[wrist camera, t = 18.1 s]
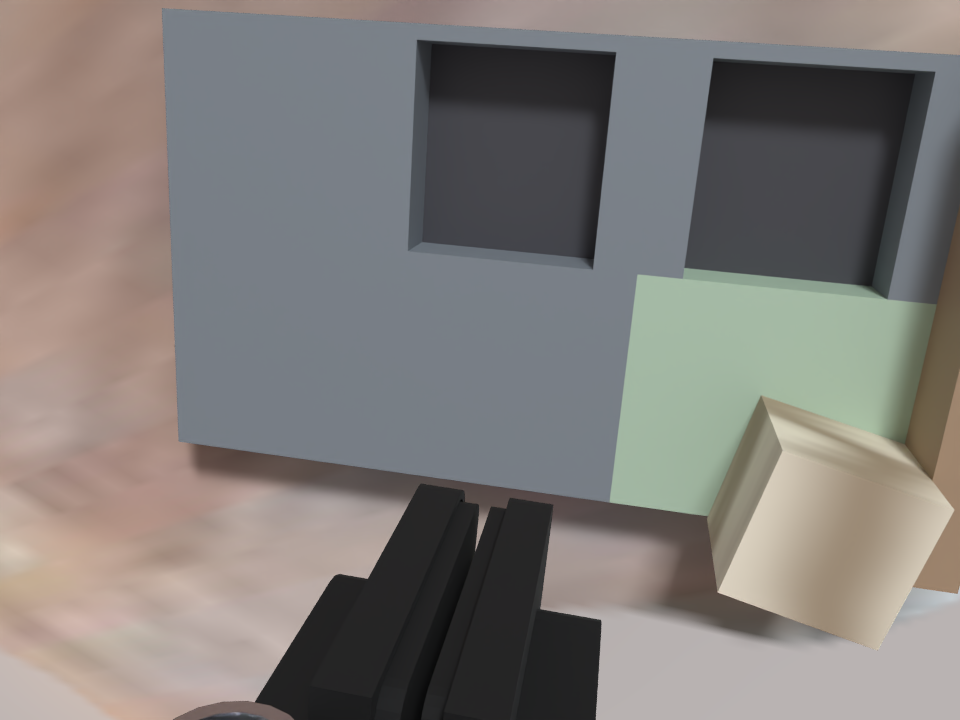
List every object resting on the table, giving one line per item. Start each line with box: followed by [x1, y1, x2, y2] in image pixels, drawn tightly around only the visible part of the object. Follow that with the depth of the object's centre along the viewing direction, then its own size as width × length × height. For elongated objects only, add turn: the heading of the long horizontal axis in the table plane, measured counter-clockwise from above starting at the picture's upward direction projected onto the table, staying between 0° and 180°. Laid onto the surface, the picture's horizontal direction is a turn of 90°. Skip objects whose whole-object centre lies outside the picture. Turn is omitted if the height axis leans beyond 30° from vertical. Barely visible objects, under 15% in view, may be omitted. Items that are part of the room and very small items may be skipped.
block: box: [707, 395, 954, 651], centre depth 28 cm, size 5×5×5 cm
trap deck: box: [162, 8, 960, 594], centre depth 30 cm, size 28×16×6 cm, turn 86°
